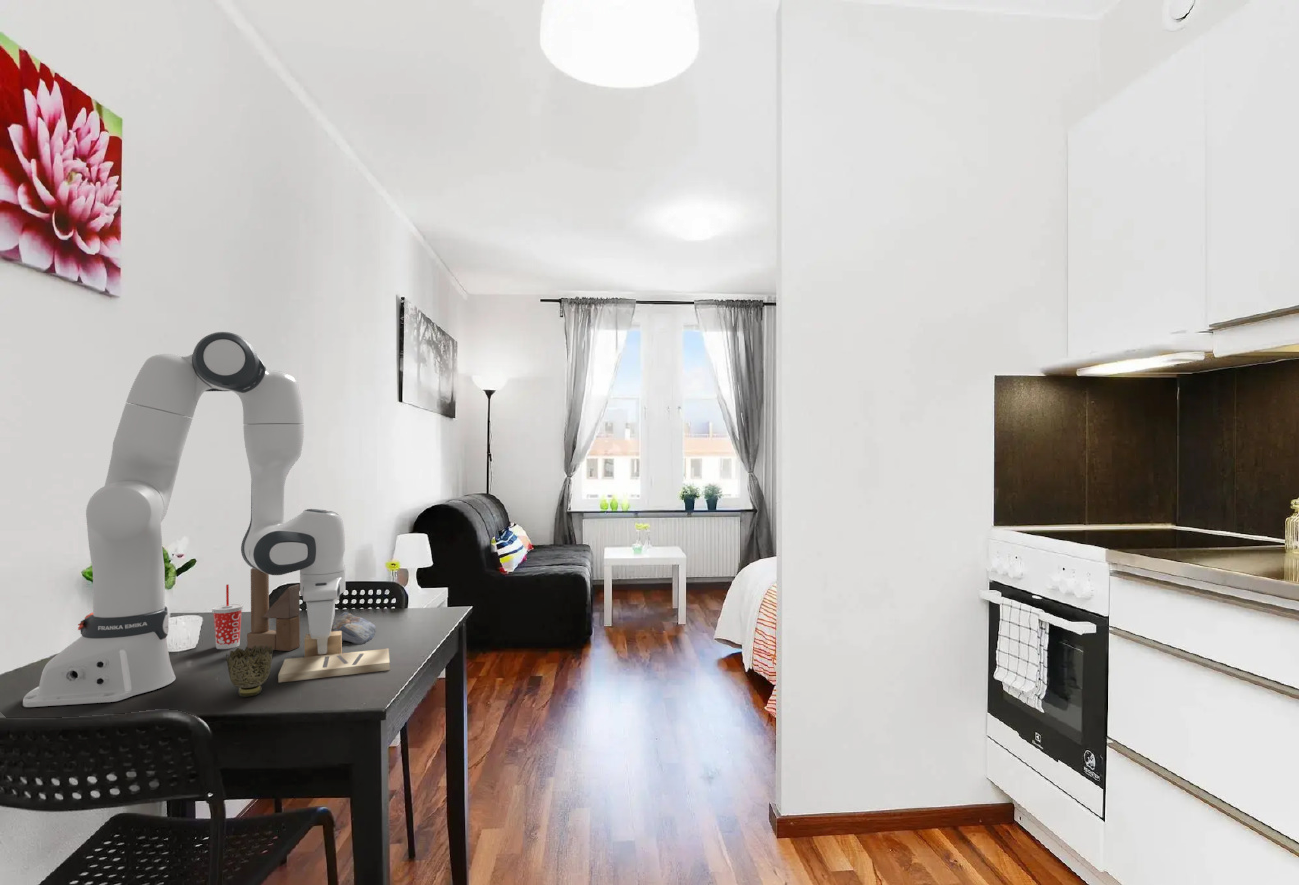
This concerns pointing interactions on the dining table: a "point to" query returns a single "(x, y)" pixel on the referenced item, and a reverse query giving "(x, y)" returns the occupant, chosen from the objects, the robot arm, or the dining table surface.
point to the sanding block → (332, 644)
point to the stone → (354, 628)
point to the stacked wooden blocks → (273, 616)
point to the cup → (249, 669)
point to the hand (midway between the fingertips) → (323, 649)
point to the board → (334, 665)
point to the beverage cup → (227, 624)
